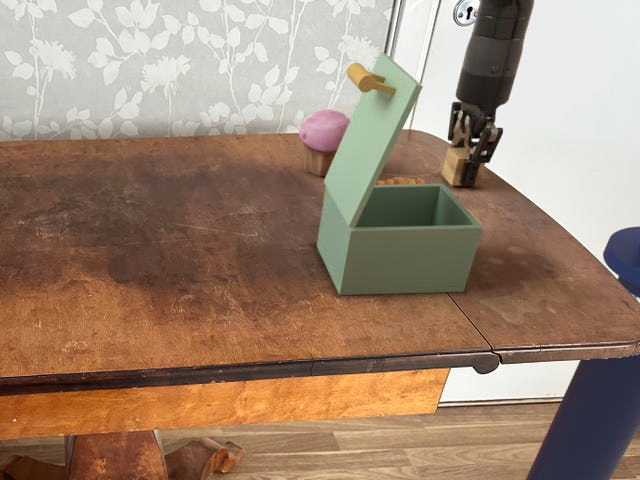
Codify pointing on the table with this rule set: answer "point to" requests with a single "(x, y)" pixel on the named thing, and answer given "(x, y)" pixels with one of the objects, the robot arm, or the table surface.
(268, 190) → the table surface
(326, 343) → the table surface
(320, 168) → the cupcake
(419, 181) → the pastry
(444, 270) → the chest
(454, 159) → the block
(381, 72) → the lid
